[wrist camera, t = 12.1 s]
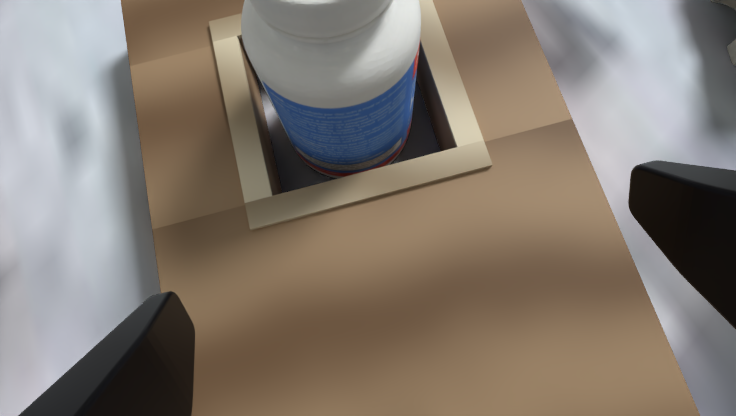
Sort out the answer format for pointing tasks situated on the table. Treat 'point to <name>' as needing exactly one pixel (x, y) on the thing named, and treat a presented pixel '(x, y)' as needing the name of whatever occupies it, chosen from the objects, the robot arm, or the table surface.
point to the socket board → (394, 238)
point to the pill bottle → (337, 76)
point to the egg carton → (735, 47)
